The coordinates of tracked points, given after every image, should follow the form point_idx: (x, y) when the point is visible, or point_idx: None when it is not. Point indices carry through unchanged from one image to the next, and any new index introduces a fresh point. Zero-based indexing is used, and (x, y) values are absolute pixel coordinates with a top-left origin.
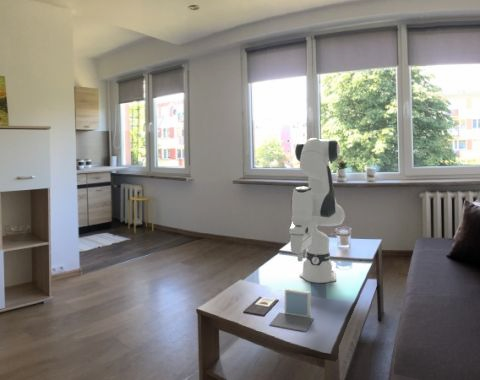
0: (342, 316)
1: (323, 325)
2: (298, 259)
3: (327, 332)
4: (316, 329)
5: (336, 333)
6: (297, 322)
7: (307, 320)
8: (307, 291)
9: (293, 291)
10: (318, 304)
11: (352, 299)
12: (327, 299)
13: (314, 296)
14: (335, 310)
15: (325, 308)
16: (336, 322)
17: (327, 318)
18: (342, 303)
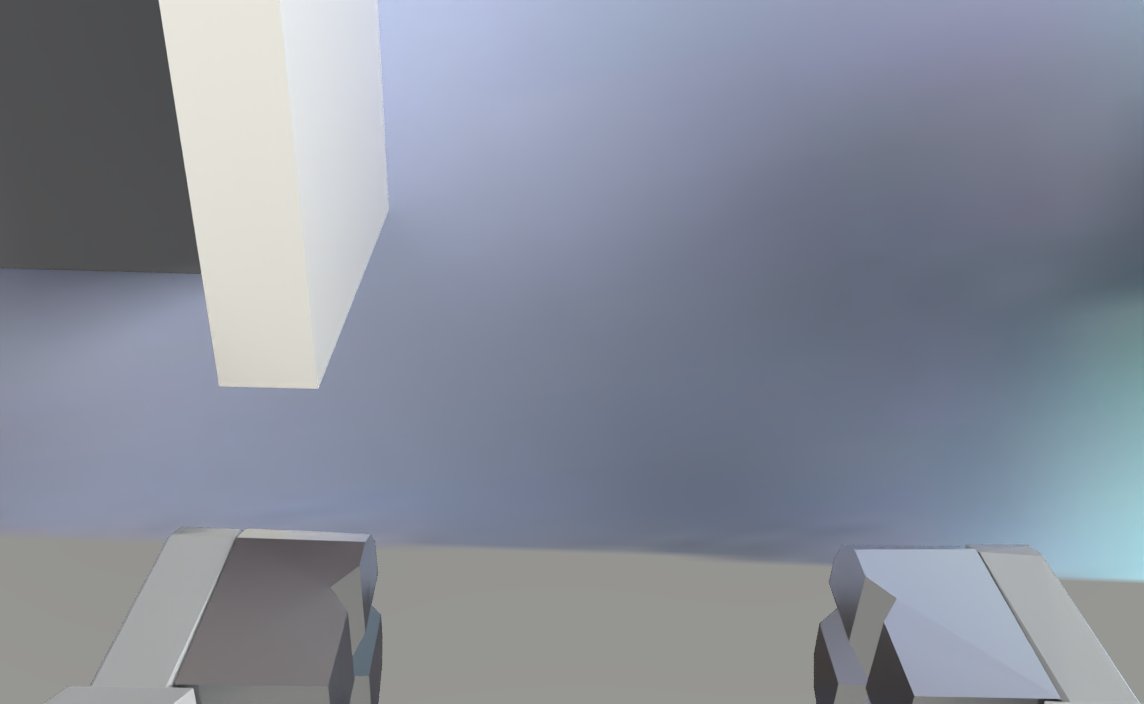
0: (528, 534)
1: (185, 398)
2: (160, 601)
3: (39, 457)
4: (35, 348)
5: (74, 530)
6: (41, 109)
7: (178, 220)
8: (287, 339)
9: (175, 60)
10: (819, 244)
11: (1081, 574)
12: (1037, 324)
13: (1141, 136)
14: (676, 455)
15: (702, 346)
16: (339, 502)
17: (400, 409)
18: (926, 497)
